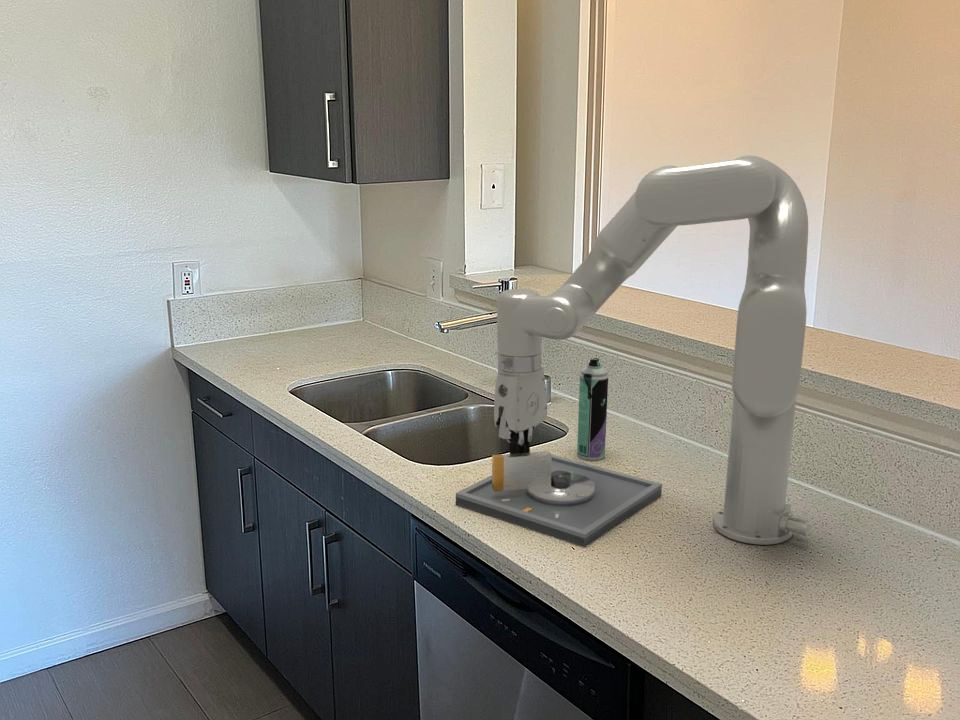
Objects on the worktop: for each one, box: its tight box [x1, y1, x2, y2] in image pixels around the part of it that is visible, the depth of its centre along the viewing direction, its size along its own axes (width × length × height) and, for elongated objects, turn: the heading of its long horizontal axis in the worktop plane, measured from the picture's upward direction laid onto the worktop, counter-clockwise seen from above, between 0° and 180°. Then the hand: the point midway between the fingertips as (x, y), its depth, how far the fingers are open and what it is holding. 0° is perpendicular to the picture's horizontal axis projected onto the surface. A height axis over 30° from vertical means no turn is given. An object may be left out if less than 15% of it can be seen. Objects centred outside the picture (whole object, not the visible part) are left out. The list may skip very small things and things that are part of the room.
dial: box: [491, 450, 595, 506], centre depth 159 cm, size 18×12×8 cm, turn 103°
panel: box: [455, 451, 663, 548], centre depth 161 cm, size 26×26×2 cm
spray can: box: [576, 357, 609, 462], centre depth 180 cm, size 6×6×20 cm
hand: (519, 463), depth 161 cm, fingers closed
